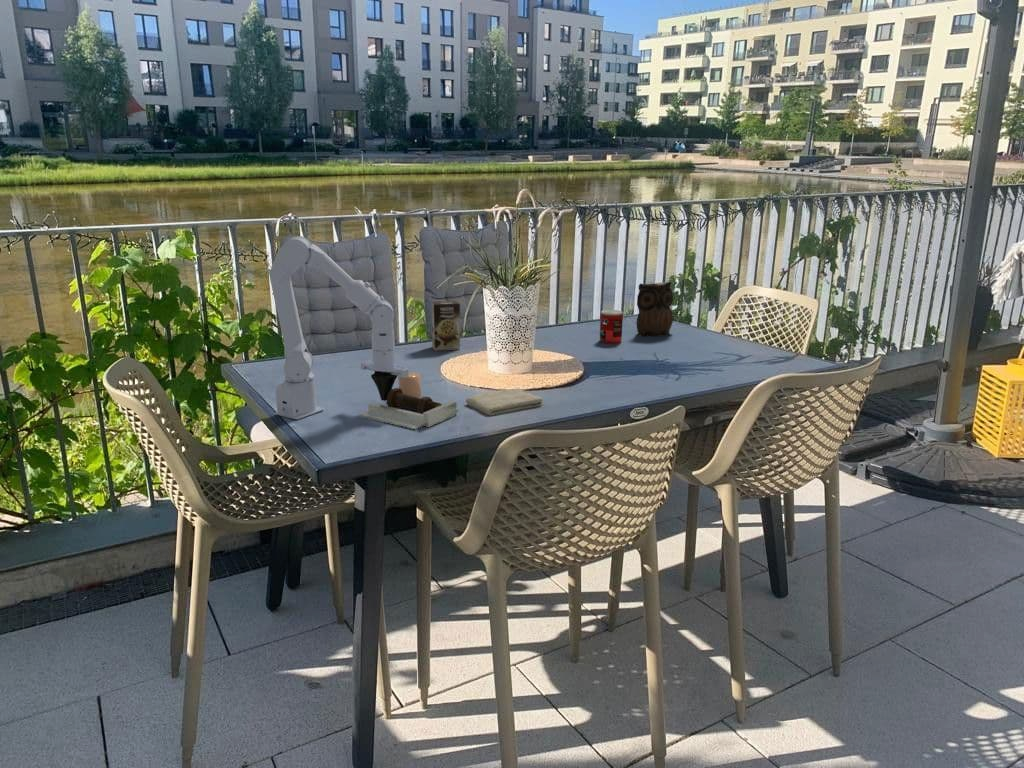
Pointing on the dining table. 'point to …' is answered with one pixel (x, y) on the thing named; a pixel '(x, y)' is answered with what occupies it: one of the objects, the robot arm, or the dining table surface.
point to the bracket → (410, 415)
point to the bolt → (410, 401)
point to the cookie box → (446, 325)
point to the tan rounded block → (410, 384)
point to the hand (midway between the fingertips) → (385, 399)
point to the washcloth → (503, 401)
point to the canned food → (611, 326)
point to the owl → (654, 309)
